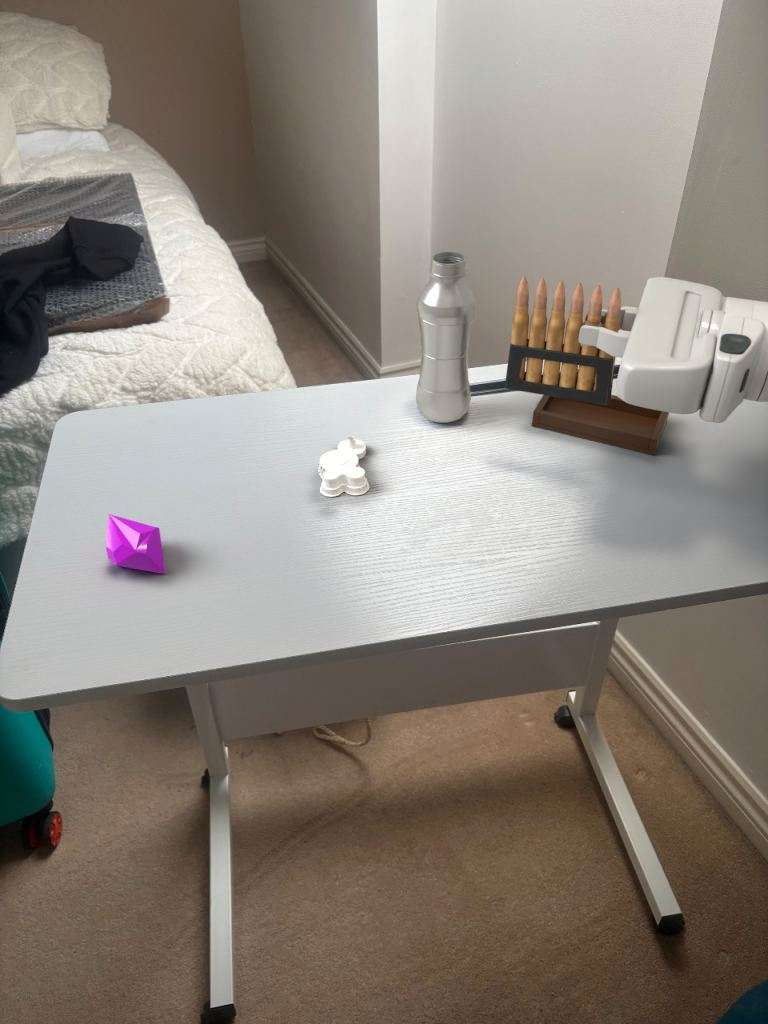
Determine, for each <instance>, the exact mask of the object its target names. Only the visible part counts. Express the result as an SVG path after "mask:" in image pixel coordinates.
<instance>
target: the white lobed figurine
mask: <svg viewBox="0 0 768 1024" xmlns="http://www.w3.org/2000/svg"><path fill="white" fill-rule="evenodd" d="M366 454H367V445H366V443H365V442H364V441H363V440H361V439H357V438H356V437H355V436H353V435H351V436H348V437H347V438H346V439H344V440H342V441H341V442H339V443H338V445H337V449H331V450H329V451H326V452H325V453H323V454H322V455H321V456H320V457H319V465H318V467H317V469H318V470H317V473H318V475H319V476H320V479H321V480H322V481H321V484H320V485H321V486H320V488H319V492H320V494H321V495H323V496H325V497H327V498H334V497H338V496H340V495H342V494H343V493H345V494H347V495H350V496H361V495H364V494H366V493H367V492H369V490H370V483H369V482H368V478H367V477H366V470H365V469H364V468H362V467H361V465H360V463H359V460H362V459H363V458H364V457H366ZM326 503H327V504H328V503H329V501H326ZM327 508H328V509H329V507H328V506H327Z"/></svg>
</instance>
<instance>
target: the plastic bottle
mask: <svg viewBox="0 0 768 1024" xmlns="http://www.w3.org/2000/svg"><path fill="white" fill-rule="evenodd" d="M430 262H431V264H430V269H429V275H430V277H431V279H429V281H428V282H427V283H426V285H425V286H424V287H423V289H422V290H421V291H420V293H419V295H418V297H417V298H418V299H417V301H416V307H417V308H416V310H417V311H416V312H417V317H418V324H419V332H420V347H421V351H420V352H421V359H420V368H419V379H418V381H417V385H416V391H415V402H416V407H417V410H418V411H419V413H420V414H421V415H422V417H424V418H425V419H426V420H428V421H431V422H434V423H441V424H446V423H454V422H456V421H459V420H460V419H462V418H463V417H465V415H466V414H467V413H468V412H469V409H470V404H471V401H472V392H471V391H472V390H471V384H470V380H469V358H468V357H469V347H470V340H471V339H470V338H471V332H472V328H473V324H474V318H475V313H476V307H477V306H476V305H477V303H476V299H475V295H474V293H473V291H472V290H471V288H470V286H469V285H468V283H467V282H466V281H465V279H464V278H465V277H466V275H467V268H466V265H467V257H466V256H465V255H464V254H462V253H461V252H460V253H459V252H455V251H440V252H437V253H435V254H433V255H432V256H431V261H430Z"/></svg>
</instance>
